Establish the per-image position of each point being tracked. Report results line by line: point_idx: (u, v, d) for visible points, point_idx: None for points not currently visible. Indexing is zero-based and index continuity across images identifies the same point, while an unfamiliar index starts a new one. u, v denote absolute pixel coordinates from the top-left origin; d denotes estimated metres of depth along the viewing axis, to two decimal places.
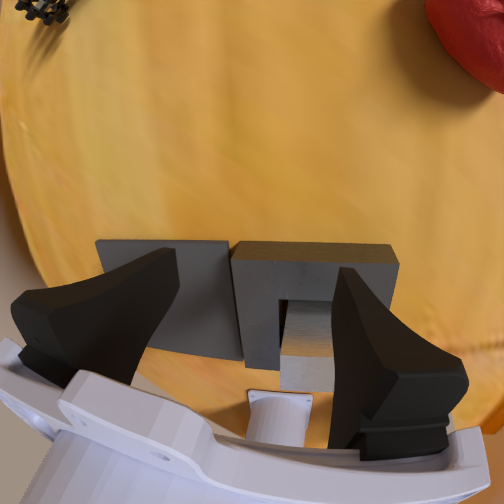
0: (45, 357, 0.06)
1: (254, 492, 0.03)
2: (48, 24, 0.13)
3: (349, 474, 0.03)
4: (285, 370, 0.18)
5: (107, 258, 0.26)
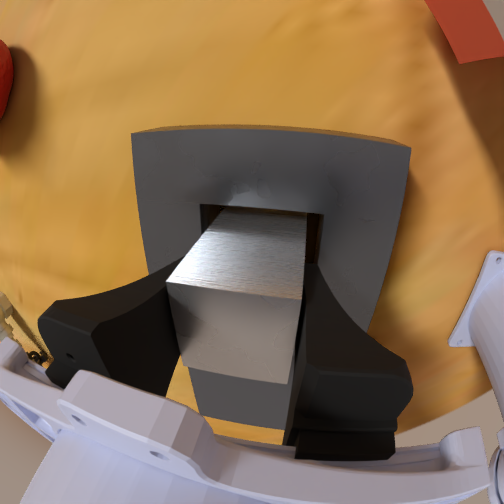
0: None
1: (254, 492, 0.03)
2: None
3: (349, 473, 0.03)
4: (220, 367, 0.10)
5: (215, 413, 0.25)
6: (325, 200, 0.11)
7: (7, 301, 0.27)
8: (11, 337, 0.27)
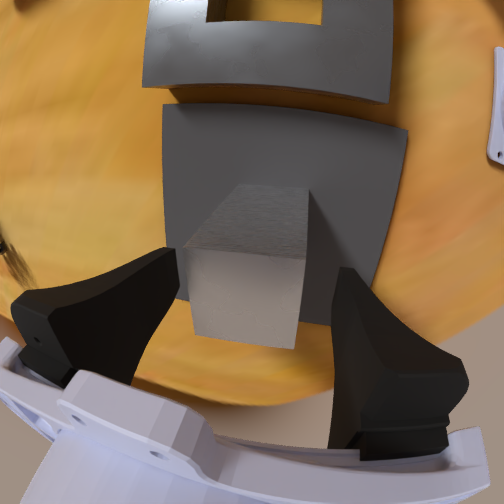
0: (45, 357, 0.06)
1: (254, 492, 0.03)
2: None
3: (349, 474, 0.03)
4: (231, 334, 0.11)
5: None
6: None
7: None
8: None
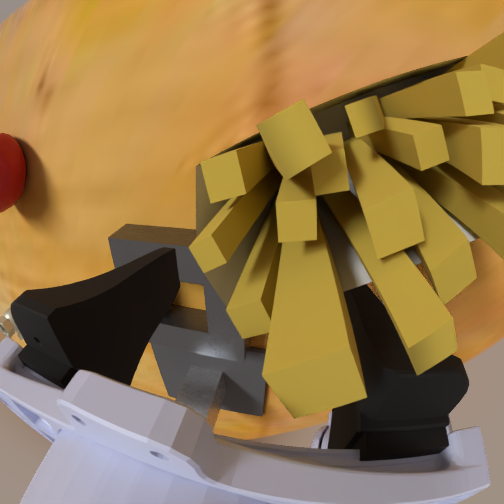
0: (45, 357, 0.06)
1: (254, 492, 0.03)
2: None
3: (348, 473, 0.03)
4: None
5: None
6: (202, 278, 0.22)
7: None
8: None
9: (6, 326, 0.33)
